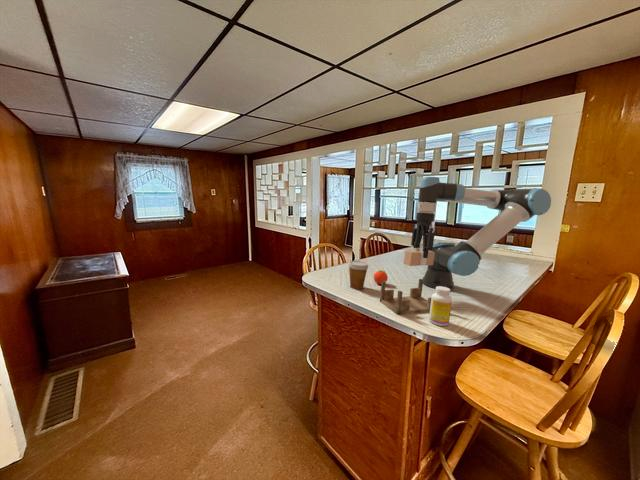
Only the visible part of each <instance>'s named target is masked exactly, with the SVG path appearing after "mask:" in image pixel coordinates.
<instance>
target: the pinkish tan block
mask: <svg viewBox="0 0 640 480" xmlns="http://www.w3.org/2000/svg"><path fill="white" fill-rule="evenodd" d="M421 251H422V250H420V251H414V250H405V251H404V259H403V264H404V265H405V266H409V267H415V266H416V267H417V266H418V267H419V266H422V265H420V259H421ZM434 255H435V252H432V251H430V250H429V251H428V257H427V261H426V265H425V266H428V265H433V262H434Z"/></svg>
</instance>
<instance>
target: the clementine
mask: <svg viewBox="0 0 640 480" xmlns="http://www.w3.org/2000/svg"><path fill="white" fill-rule="evenodd" d="M373 280H374V282H375V283H376V284H378V285H381V283H382V281H385V282H386V283H387V281H388V274H387V273H386V271H385V270H378V271H375V272H374V275H373Z"/></svg>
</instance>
